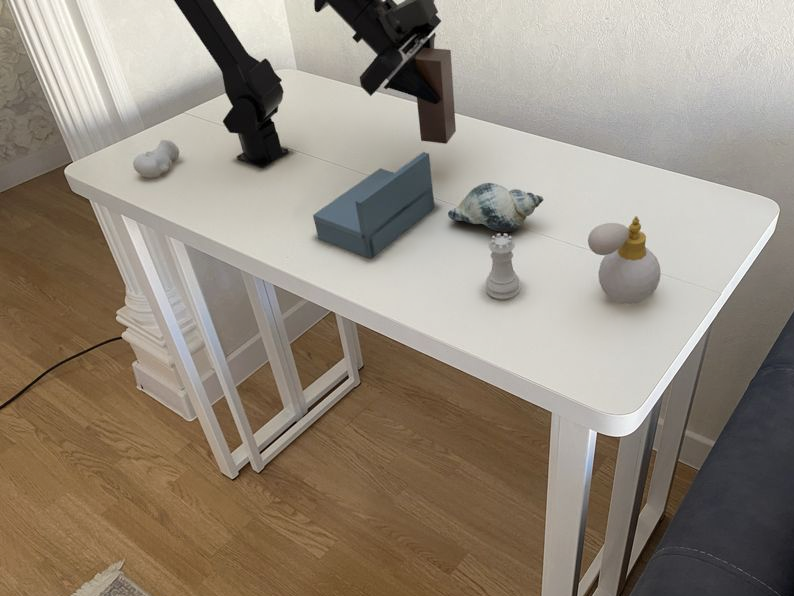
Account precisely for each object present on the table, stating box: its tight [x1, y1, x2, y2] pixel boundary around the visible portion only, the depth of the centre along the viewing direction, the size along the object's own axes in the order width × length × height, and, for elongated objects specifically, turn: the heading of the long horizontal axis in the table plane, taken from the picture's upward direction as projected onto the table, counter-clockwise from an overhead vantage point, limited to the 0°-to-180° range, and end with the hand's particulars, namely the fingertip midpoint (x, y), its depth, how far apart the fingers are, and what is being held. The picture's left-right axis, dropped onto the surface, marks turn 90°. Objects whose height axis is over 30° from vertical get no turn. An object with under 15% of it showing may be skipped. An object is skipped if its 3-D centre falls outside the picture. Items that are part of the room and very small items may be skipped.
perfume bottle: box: [587, 215, 662, 305], centre depth 87 cm, size 8×10×12 cm
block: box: [415, 47, 457, 145], centre depth 107 cm, size 4×4×12 cm
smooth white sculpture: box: [132, 139, 180, 179], centre depth 121 cm, size 4×8×5 cm
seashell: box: [447, 182, 544, 233], centre depth 103 cm, size 6×8×12 cm
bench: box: [312, 151, 435, 260], centre depth 104 cm, size 10×15×9 cm, turn 145°
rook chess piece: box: [485, 232, 521, 300], centre depth 91 cm, size 4×4×8 cm
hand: (443, 95), depth 106 cm, fingers closed on block, 4 cm apart
